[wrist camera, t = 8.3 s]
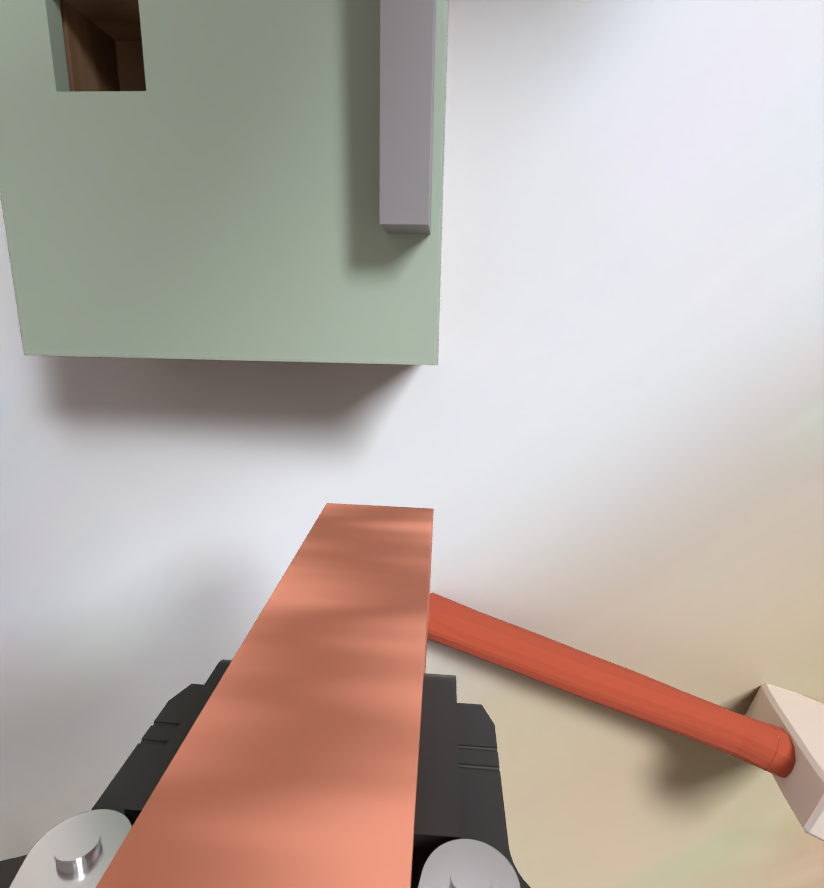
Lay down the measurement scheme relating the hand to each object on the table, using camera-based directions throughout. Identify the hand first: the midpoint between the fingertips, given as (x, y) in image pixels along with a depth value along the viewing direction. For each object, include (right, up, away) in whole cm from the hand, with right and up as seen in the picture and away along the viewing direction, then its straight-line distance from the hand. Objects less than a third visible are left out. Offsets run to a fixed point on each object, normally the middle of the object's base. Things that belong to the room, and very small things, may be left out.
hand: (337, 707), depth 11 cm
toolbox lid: (-7, +23, +14) cm, 28 cm away
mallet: (+17, -11, +30) cm, 37 cm away
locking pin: (0, +2, +7) cm, 7 cm away
